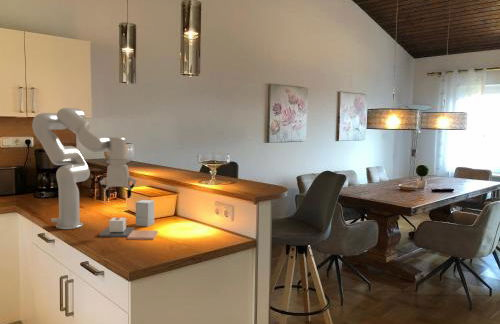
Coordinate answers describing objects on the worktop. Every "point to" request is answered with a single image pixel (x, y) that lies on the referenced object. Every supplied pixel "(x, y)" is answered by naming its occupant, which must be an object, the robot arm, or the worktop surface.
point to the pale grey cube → (117, 224)
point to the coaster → (142, 235)
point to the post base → (116, 234)
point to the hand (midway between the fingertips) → (118, 197)
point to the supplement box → (144, 213)
